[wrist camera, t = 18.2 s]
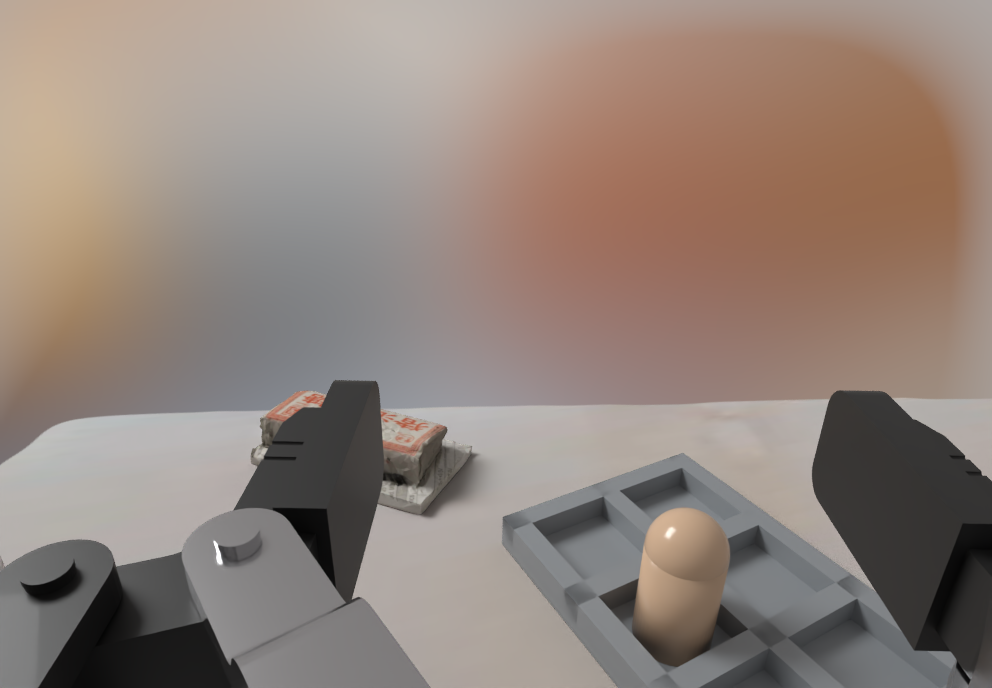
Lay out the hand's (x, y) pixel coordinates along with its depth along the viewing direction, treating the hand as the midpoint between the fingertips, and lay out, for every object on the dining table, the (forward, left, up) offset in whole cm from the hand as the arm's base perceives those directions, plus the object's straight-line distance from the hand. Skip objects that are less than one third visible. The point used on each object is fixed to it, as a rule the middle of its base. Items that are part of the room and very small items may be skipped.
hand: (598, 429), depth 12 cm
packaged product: (-43, +8, -31) cm, 54 cm away
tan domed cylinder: (-14, +19, -29) cm, 38 cm away
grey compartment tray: (-14, +23, -30) cm, 40 cm away
